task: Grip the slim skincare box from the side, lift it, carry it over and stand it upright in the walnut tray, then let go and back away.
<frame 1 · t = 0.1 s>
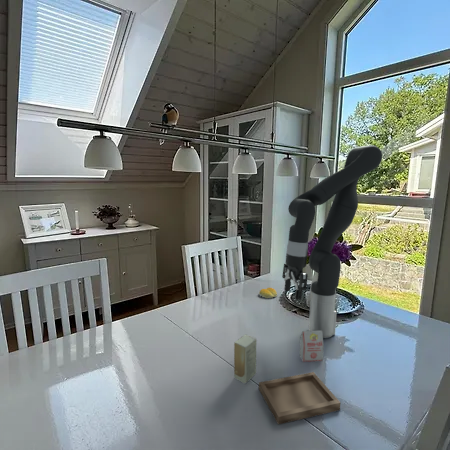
hand: (292, 294, 112), 17 cm above the table, tool pointing down, fingers open, 8 cm apart
walnut tray: (297, 399, 83), on the table
bread roll: (268, 296, 155), on the table
skincare box: (244, 376, 92), on the table
white boxy package: (310, 358, 102), on the table
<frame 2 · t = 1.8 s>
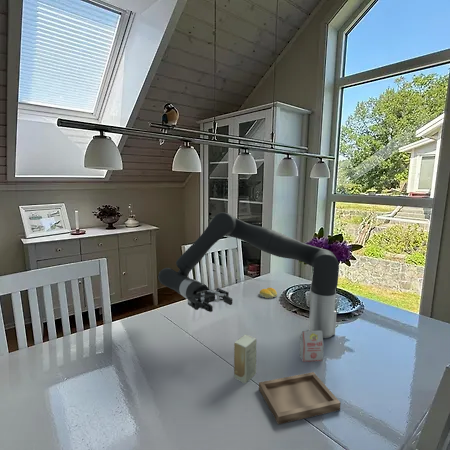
hand: (222, 305, 98), 19 cm above the table, tool horizontal, fingers open, 8 cm apart
nothing on the table moved.
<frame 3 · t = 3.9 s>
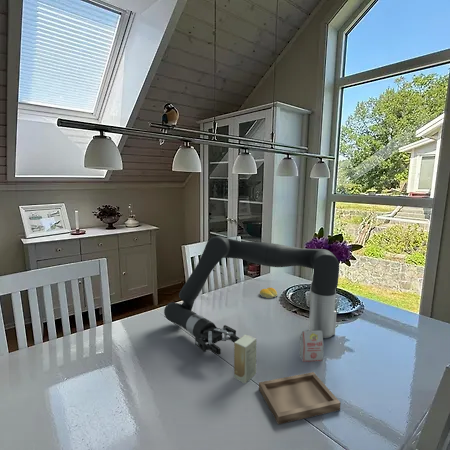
hand: (229, 346, 97), 6 cm above the table, tool horizontal, fingers open, 8 cm apart
nothing on the table moved.
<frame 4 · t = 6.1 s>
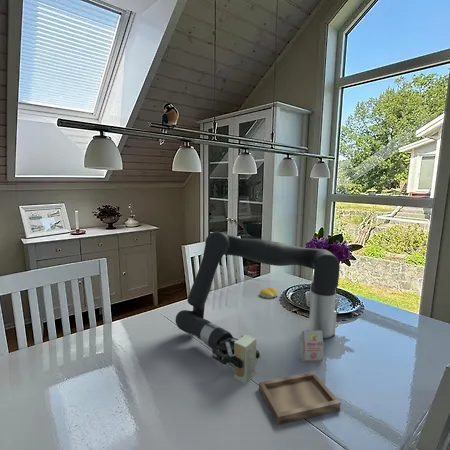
hand: (250, 360, 90), 7 cm above the table, tool horizontal, fingers closed on skincare box, 6 cm apart
skincare box: (244, 376, 92), on the table, touching gripper
everything else where it was.
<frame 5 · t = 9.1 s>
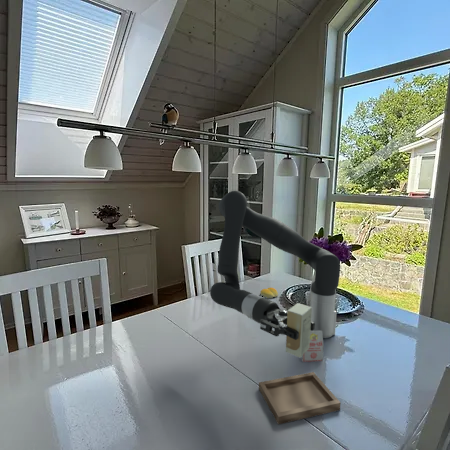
hand: (306, 331, 78), 21 cm above the table, tool horizontal, fingers closed on skincare box, 6 cm apart
skincare box: (297, 350, 81), point 14 cm above the table, touching gripper
everything else where it was.
when the fingers open (9 cm above the table, at t = 12.2 s): skincare box drops 1 cm, resting on walnut tray.
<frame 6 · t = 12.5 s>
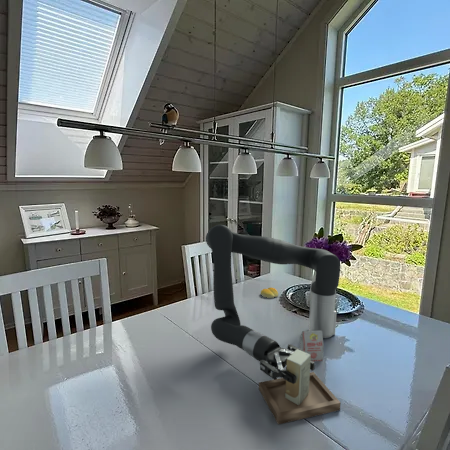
hand: (305, 373, 80), 9 cm above the table, tool horizontal, fingers open, 8 cm apart
skincare box: (296, 396, 83), point 1 cm above the table, touching walnut tray
everything else where it was.
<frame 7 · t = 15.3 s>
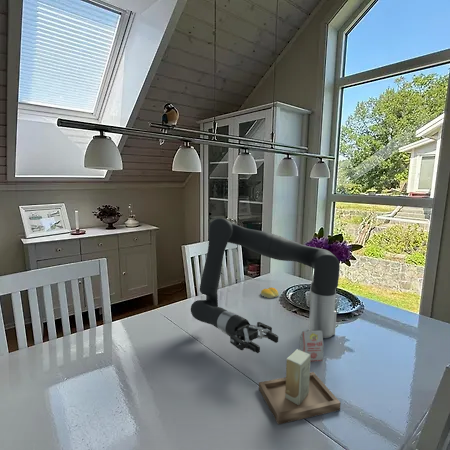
hand: (268, 344, 91), 11 cm above the table, tool horizontal, fingers open, 8 cm apart
nothing on the table moved.
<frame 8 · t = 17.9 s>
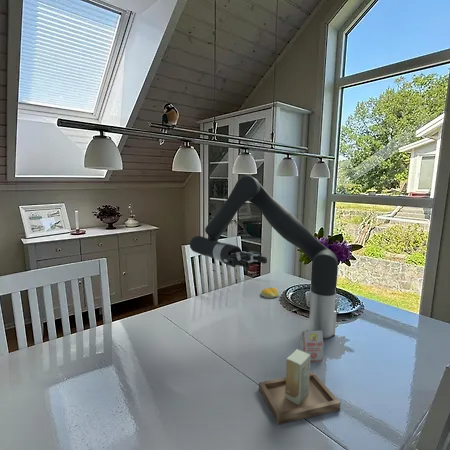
hand: (257, 262, 102), 32 cm above the table, tool horizontal, fingers open, 8 cm apart
at the end: skincare box inside the target area on the walnut tray (0.3 cm from its centre), point 0.8 cm above the walnut tray's base; skincare box tilted 0°; the gripper is holding nothing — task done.
